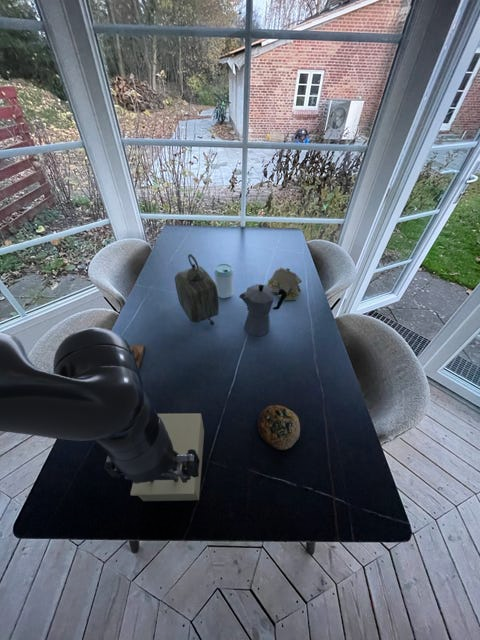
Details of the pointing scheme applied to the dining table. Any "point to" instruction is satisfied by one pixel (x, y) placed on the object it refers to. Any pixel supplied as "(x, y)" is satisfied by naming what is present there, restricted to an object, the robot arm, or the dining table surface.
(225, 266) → the can
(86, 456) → the dining table surface
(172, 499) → the beige open box
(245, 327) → the coffeepot
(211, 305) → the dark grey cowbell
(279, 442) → the bread roll
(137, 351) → the block
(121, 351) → the robot arm
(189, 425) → the lid
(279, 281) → the ceramic model
